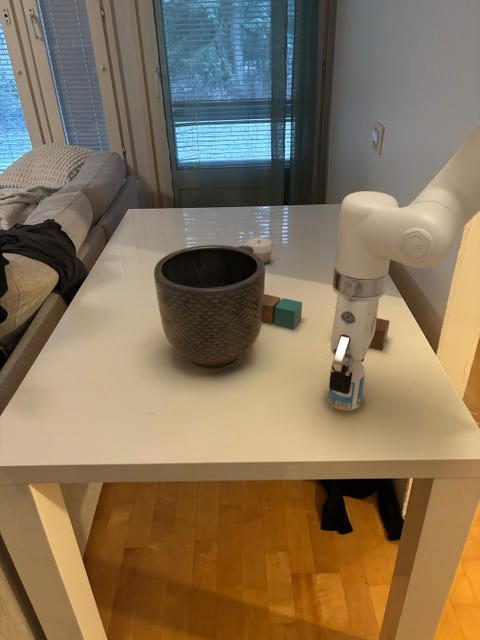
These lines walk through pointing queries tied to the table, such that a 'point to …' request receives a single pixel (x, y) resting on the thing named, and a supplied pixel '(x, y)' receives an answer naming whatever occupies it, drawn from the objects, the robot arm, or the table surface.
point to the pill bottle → (355, 394)
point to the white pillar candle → (261, 247)
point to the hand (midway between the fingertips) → (346, 374)
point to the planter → (211, 302)
